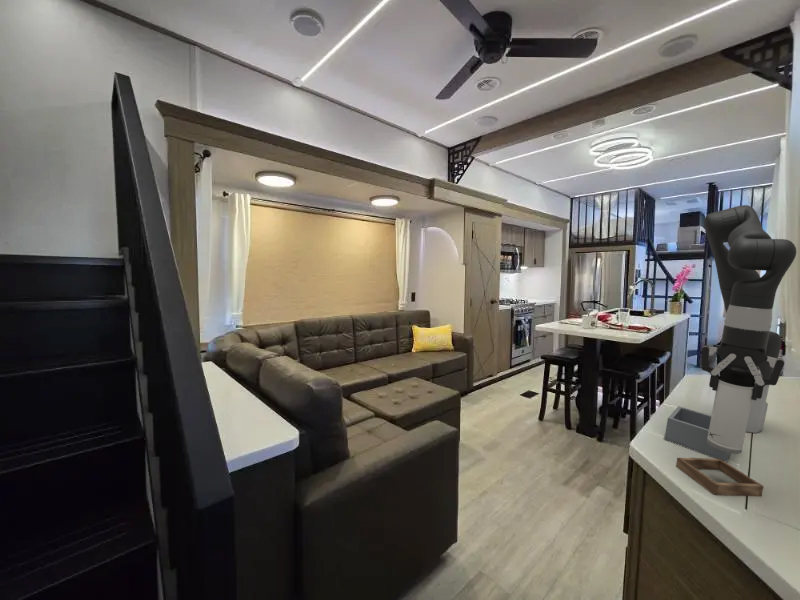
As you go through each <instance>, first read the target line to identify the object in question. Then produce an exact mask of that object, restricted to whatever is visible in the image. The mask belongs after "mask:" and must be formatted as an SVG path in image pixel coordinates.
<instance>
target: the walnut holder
mask: <svg viewBox="0 0 800 600" xmlns="http://www.w3.org/2000/svg"><path fill="white" fill-rule="evenodd" d="M675 464H676V465H675V468H677V469H679V470H680V471H681V472H683V473H684V474H685V475H687V476H688V477H690V478H691V479H692V480H693V481H695V482H696V483H698V484H699V485H700V486H702V488H705V490H707V491H708V492H710V493H711V494H712V495H714V496H744V497H745V496H749V497H752V496H753V497H762V496H763V493H764V488H765V487H764V485H763V484H761V483H759V482H758V481H757V480H754V479H753V478H751V477H750V476H749V475H746V474H745V473H743V472H742V471H740V470H739V469H738V468H736V467H733V466H732V465H731V464H729V463H728V462H725V461H723V460H721V459H717V458H704V457H703V458H701V457H698V458H697V457H677V458H676V463H675ZM700 470H718V471H720V472H722V473H723V474H725V475H726V476H728V477H729V478H731V480H734V481H735V482H736V483H735V482H734V483H733V482H716V481H714V480H713V479H711V478H710V477H709V476H707V475H706V474H704V473H703V472H701V471H700Z"/></svg>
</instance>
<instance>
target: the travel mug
mask: <svg viewBox="0 0 800 600" xmlns="http://www.w3.org/2000/svg"><path fill="white" fill-rule="evenodd" d="M718 375H719V378H718V383H717V389H716V391H715V395H714V399H713V406H712V411H711V421H710V426H709V432H708V437H707V443H708V444H709V445H710V446H712V447H713V448H715V449H717V450H720V451H723V452H726V453H730V455H731V454H732V455H739V454H740V455H741V454H742V452H743V446H744V442H745V439H746V428H747V423H748V418H749V413H750V408H751V403H752V398H753V392H754V387H755V379H754V376H753V375H752V373H749V372H745V371H743V372H741V371H736V370H733V369H732V368H730V367H725V368H724V369H723V370H722V371H720V372H719V374H718Z"/></svg>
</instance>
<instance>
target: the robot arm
mask: <svg viewBox="0 0 800 600" xmlns="http://www.w3.org/2000/svg"><path fill="white" fill-rule="evenodd" d="M703 220H704V222H703V223H704V224H703V225H704V229H705V233H706V237H707V240H708V244H709V246H710V250H711V252H712V257H713V259H714V263H715V267H716V268H715V269H716V274H717V279H718V285H719V289H720V294H721V296H722V300H723V304H724V309H725V313H726V314H725V318H724V320H723V322H724V324H723V328H722V329H723V330H722V334H721V335H722V336H721V341H720V344H719V346H717V347H714V346H713V347H712V346H709V345H704V346H703V347H702V349H701V370H702V371H703V372H707V373H708V374H709V375H710V377H709V382H708V383H709V384H708V385H709V388H712V389H711V390H712V391H714V392H716V389H717V383H718V378H719V376H720V375H719V374H720V371H722V370H723V369H724V368H727V367H728V368H731V369H733V370H736V371H741V372H743V371H745V372H749V373H752V375H753V376H754V379H755V387H754V392H753V398H752V403H751V408H750V413H749V418H748V423H747V428H746V432H747V433H754V434H755V433H756V434H757V433H760V431H761V432H762V431H763V430H764V426H765V420H766V416H767V411H768V407H769V403H768V402H767V398H768V394H769V389H770V386H776V385H778V382H779V381H778V380H779V378H780V376H781V373H782V371H783V368H784V366H785V360H784V358H780V357H779V355H780V352H781V348H782V337H781V335H780V334H778V333H777V332H775V331H771V328H772V321H773V309H774V303H775V299H776V295H777V294H776V293H777V291H778V288H779V286H780V283H781V282H782V279H783V278H784V276H786V275H785V274H786V273H787V271H788V270H789V269H790V268H791V266H792V264H793V262H794V261H795V258H796V256H797V246H796V244H794V243H793V242H792V241H791V240H789V239H786V238H772V237H771V236H770V235H769V233H768V232H766V231H765V230H764V228H763V226H762V225H763V224H762V222H761V220H760V218H759V215H758V214H757V211H756V210H755V209H754V208H753V207H752V206H751V205H748V204H745V205H744V204H743V205H736V206H733V207H729V208H725V209H722V210H720V211H719V210H718V211H714V212H712V213H708V214H707V215H706V216H704V219H703ZM725 242H727V244H728V246H729V249H728V248H727V247H726V245H725ZM758 271H765V273H764V274H762V276H761V275H760V273H759V272H758ZM715 353H717V354H718V355H719V358H721V361H720V362H719V363H718V364H717V365H716V366H715V367H712V366H711V365H710V363H711V362H710V359H711V356H713V355H714V354H715Z"/></svg>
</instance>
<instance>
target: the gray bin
mask: <svg viewBox="0 0 800 600" xmlns="http://www.w3.org/2000/svg"><path fill="white" fill-rule="evenodd" d="M711 415H712V414H711ZM711 415H710V414H706V413H704V412H700V411H696V410H694V409H693V410H692V409H690V408H686V407H684V406H683V407H682V406H680V405H678V406H677V407H676V408H675V409H674V410H673V411H672V412H671V414H670V415H669V416H668V417H667V421H666V427H665V434H664V438H663V440H664V441H667V442H669V441H671V442H670V443H672V442H673V444H675V443H676V444H675V445H678V444H679V446H680V445H682V446H681V447H683V446H685V447H684V448H686V447H688V448H687V449H689V448H690V449H689V450H693V451H694V450H695V452H697V453H699V454H700V453H701V454H703V455H705V454H706V456H708V455H709V457H710V458H713V459H721V460H723V461H724V462H725V461H726V463H728V461H729V460H728V459H730V456H731V454H730V453H726V452H723V451H720V450H717V449H715V448H713V447H712V446H710V445H709V444H708V443H707V437H708V432H709V426H710V421H711Z"/></svg>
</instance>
